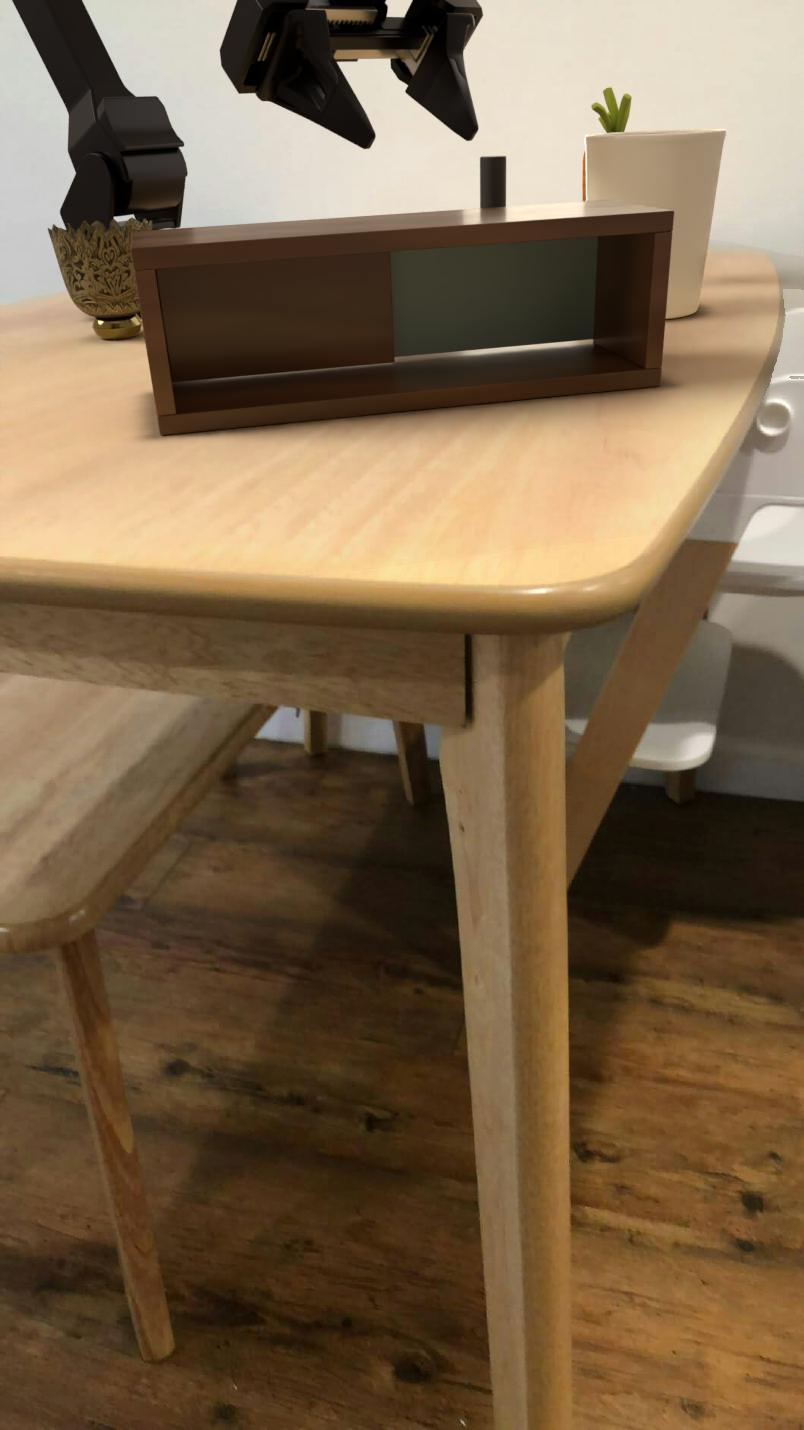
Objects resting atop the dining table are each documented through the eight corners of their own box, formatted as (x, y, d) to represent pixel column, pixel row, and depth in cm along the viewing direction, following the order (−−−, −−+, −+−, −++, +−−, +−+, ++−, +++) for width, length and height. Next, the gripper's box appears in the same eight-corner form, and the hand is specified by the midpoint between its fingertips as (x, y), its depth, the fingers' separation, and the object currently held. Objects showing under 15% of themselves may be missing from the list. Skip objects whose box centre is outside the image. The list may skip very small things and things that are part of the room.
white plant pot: (556, 307, 83) (561, 135, 77) (665, 296, 85) (679, 128, 79) (615, 327, 75) (626, 136, 69) (734, 314, 77) (755, 128, 71)
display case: (157, 395, 62) (130, 230, 58) (597, 354, 67) (605, 199, 63) (160, 435, 54) (130, 247, 50) (660, 386, 59) (674, 210, 55)
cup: (64, 334, 82) (43, 222, 78) (158, 324, 84) (141, 214, 80) (76, 349, 76) (52, 229, 72) (176, 338, 78) (159, 221, 74)
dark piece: (375, 341, 68) (366, 162, 63) (570, 324, 70) (577, 150, 65) (393, 357, 63) (384, 165, 58) (601, 338, 66) (610, 152, 60)
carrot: (635, 292, 88) (649, 84, 81) (576, 292, 89) (583, 88, 82) (636, 283, 92) (649, 85, 85) (579, 284, 93) (587, 88, 86)
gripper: (220, -204, 56) (370, 22, 55) (459, -164, 67) (590, 25, 65) (165, -10, 65) (292, 188, 64) (383, -3, 76) (497, 167, 75)
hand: (424, 139), depth 67 cm, fingers open, 9 cm apart
